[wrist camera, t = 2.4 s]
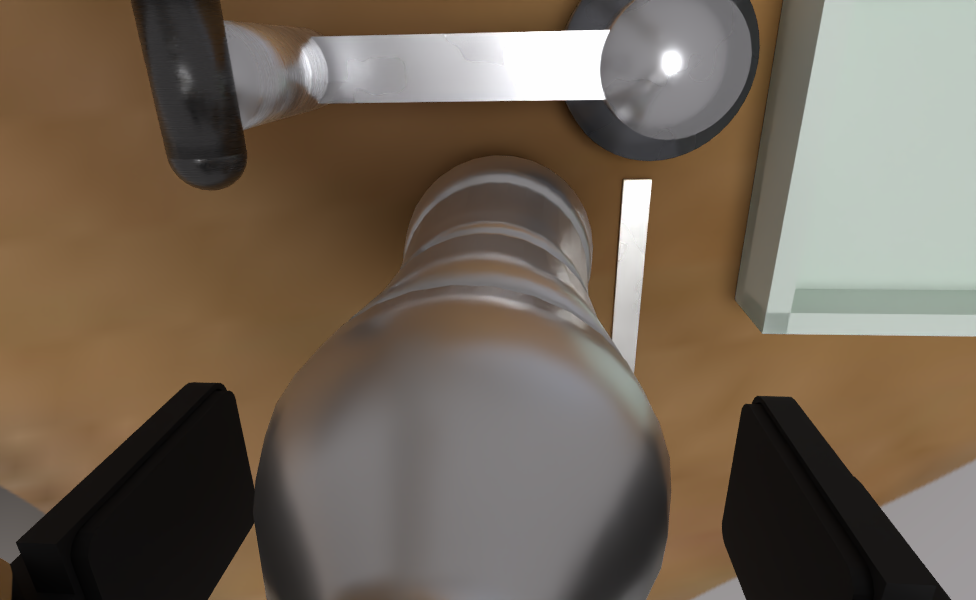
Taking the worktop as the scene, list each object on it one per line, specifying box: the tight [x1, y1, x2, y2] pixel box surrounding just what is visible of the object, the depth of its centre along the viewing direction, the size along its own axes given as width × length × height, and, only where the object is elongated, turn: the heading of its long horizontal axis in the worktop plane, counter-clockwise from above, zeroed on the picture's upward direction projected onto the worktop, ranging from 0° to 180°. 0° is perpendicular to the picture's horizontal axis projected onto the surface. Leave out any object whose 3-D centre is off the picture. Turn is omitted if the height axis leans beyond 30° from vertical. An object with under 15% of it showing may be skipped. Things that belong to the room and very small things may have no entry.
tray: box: [735, 0, 976, 336], centre depth 19 cm, size 12×11×3 cm
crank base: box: [564, 0, 760, 373], centre depth 21 cm, size 16×6×2 cm, turn 1°
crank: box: [131, 0, 752, 190], centre depth 15 cm, size 14×5×8 cm, turn 91°
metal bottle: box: [253, 155, 671, 600], centre depth 13 cm, size 6×7×20 cm
